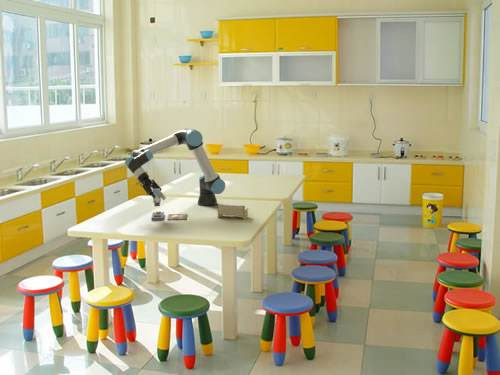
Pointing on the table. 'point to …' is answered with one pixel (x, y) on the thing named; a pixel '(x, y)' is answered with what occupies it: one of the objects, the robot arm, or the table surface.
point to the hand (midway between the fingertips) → (161, 199)
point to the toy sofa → (232, 210)
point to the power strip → (157, 216)
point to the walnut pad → (177, 217)
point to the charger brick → (157, 192)
